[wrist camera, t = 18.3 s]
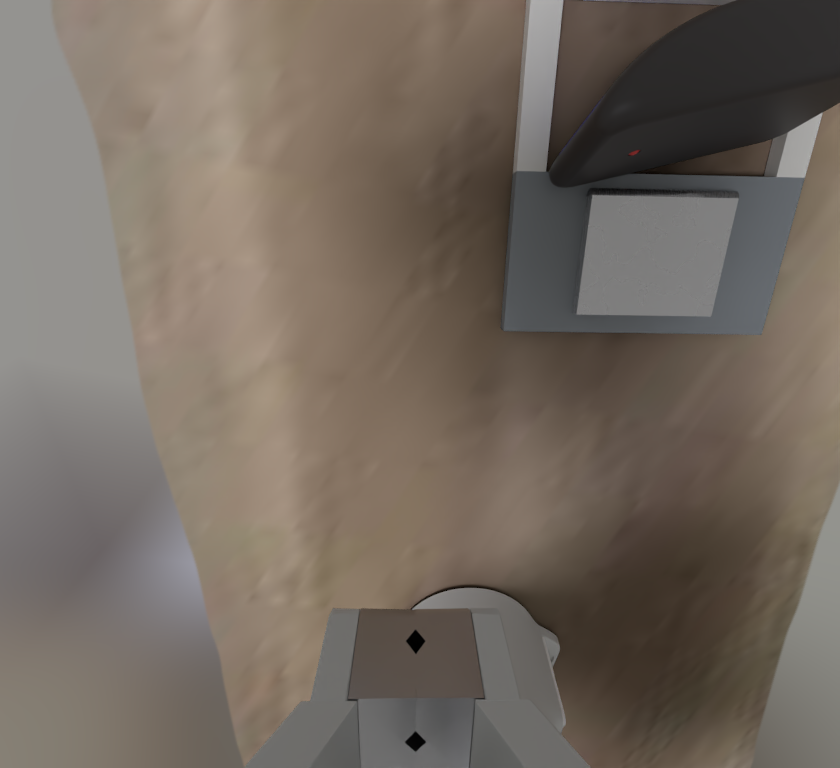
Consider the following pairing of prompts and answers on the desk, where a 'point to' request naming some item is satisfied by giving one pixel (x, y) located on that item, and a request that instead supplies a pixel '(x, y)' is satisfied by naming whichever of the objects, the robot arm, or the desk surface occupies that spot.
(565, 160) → the leaning round-cornered charcoal block
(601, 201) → the light grey rectangular plate
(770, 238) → the mounting board
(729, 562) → the desk surface
